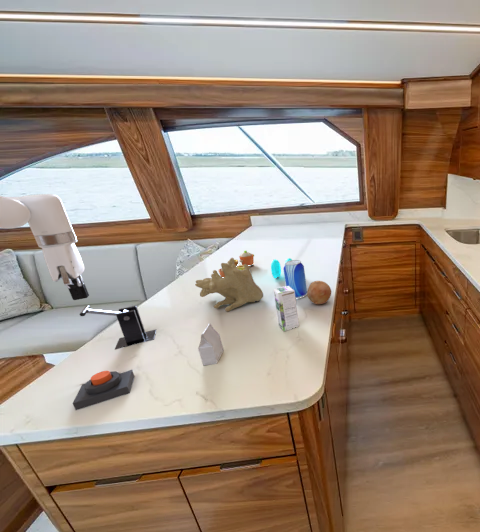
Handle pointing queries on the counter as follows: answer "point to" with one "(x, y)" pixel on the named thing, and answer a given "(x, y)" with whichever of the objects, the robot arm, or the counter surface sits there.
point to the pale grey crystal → (210, 346)
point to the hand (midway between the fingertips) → (81, 298)
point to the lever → (99, 311)
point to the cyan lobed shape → (277, 267)
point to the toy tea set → (244, 259)
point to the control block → (104, 390)
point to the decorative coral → (231, 286)
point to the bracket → (132, 328)
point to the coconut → (319, 292)
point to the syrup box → (286, 307)
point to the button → (101, 377)
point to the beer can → (295, 277)
